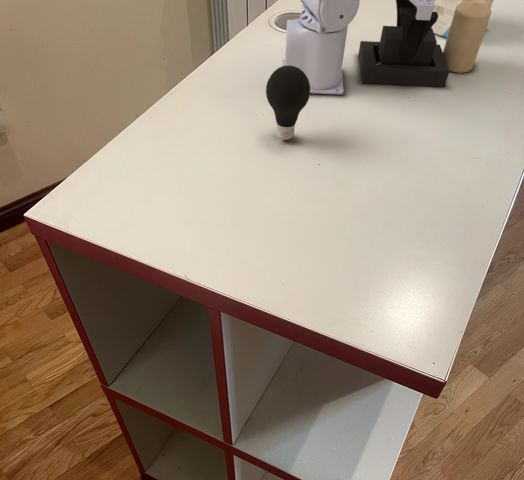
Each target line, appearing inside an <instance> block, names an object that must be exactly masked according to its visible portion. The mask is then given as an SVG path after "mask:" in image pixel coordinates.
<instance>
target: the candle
mask: <svg viewBox="0 0 524 480" xmlns="http://www.w3.org/2000/svg"><path fill="white" fill-rule="evenodd" d="M491 15H492V9H490V7H489V5H488V4H487V3H486V1H485V0H464V1H462V2H461V3H460V4H458V5H457V6H456V9H455V13H454V16H453V20H452V23H451V26H450V30H449V33H448V37H447V38H446V40H445V44H444V47H443V50H442V52H443V55H444V58H445V61H446V63H447V66H448V69H449V72H453V73H460V74H461V73H468V72H470V71H471V70H472V69H473V67H474V66H475V65H474V64H475V62H476V59H477V56H478V53H479V50H480V47H481V44H482V43H483V39H484V35H485V32H486V30H487V27H488V24H489V21H490V18H491Z"/></svg>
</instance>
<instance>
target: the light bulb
mask: <svg viewBox="0 0 524 480" xmlns="http://www.w3.org/2000/svg"><path fill="white" fill-rule="evenodd" d="M265 88H266V89H265V95H266V96H265V97H266V100H267V103H268V104H269V106H270V108H272V110H273V112H274V117H275V122H276V125H277V126H276V136H277V137H278V138H279V139H281V140H282V141H284V142H286V141H289V140H291V139H292V138H293V137H294V135H295V127H296V126H295V125H296V123H297V121H298V118H299V114H300V113H301V111H302V110H303V109H304V108H305V107H306V105H307V104H308V102H309V99H310V95H311V93H310V83H309V80H308V78H307V76H306V75H305V73H304V72H303V71H302V70H300V69H299V68H297V67H295V66H280V67H278V68H276V69H275V70H274V71H273V72H272V73H271V74H270V76H269V78H268V79H267V82H266V85H265Z"/></svg>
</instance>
